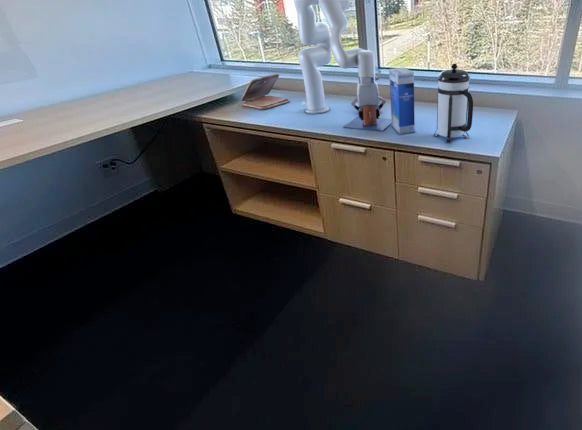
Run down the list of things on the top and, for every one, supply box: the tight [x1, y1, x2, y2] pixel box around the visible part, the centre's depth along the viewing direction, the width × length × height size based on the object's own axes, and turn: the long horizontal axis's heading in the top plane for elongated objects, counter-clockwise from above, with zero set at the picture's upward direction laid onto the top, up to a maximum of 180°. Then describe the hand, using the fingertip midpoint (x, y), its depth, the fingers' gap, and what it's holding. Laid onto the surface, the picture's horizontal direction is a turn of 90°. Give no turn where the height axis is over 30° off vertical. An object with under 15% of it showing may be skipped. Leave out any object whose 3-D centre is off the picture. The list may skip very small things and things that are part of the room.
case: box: [240, 73, 290, 110], centre depth 217 cm, size 20×21×16 cm
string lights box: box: [388, 66, 416, 135], centre depth 168 cm, size 13×8×26 cm, turn 17°
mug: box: [362, 105, 377, 126], centre depth 178 cm, size 10×7×9 cm
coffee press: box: [433, 63, 474, 143], centre depth 155 cm, size 17×16×30 cm
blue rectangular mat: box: [343, 116, 392, 132], centre depth 183 cm, size 20×16×1 cm
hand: (369, 118), depth 181 cm, fingers closed on mug, 7 cm apart
